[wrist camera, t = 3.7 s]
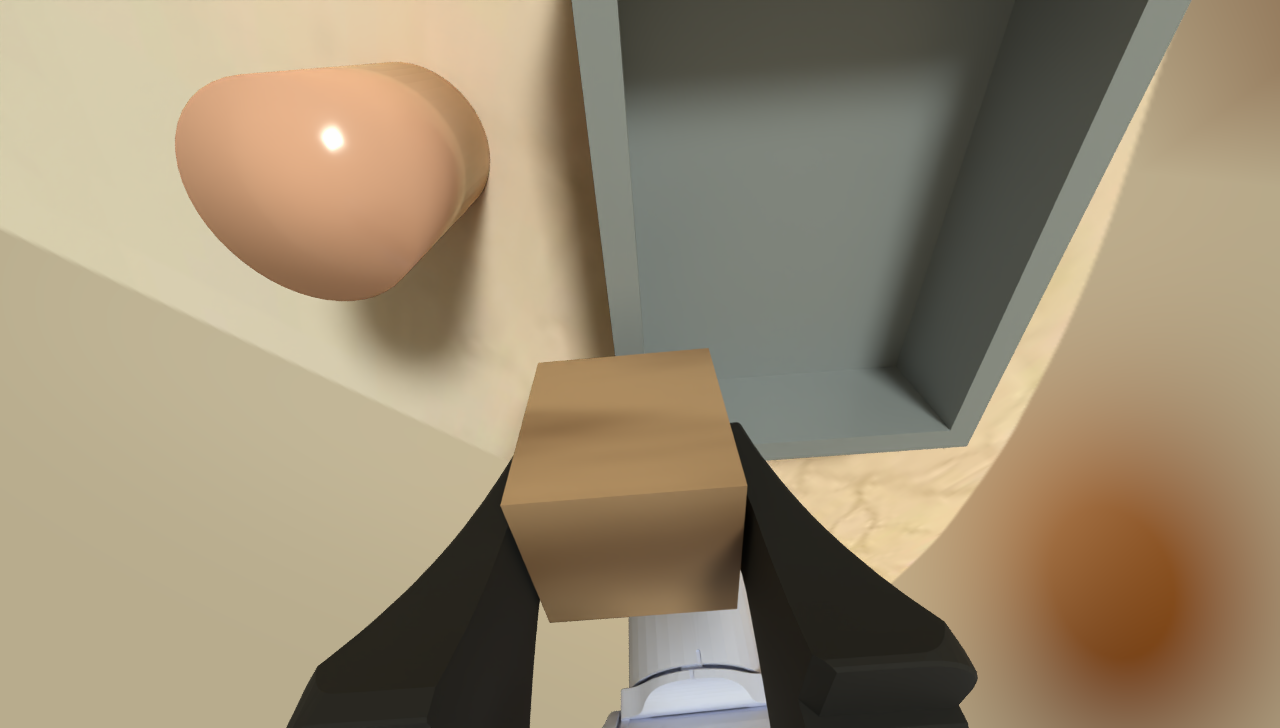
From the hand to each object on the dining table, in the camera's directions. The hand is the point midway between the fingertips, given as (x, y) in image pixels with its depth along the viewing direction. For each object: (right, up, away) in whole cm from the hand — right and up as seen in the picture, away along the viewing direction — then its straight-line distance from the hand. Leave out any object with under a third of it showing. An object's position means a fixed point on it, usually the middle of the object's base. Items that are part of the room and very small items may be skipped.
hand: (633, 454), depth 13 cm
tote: (+6, +9, +4) cm, 12 cm away
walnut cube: (0, +1, +1) cm, 2 cm away
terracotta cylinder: (-8, +10, +3) cm, 13 cm away
